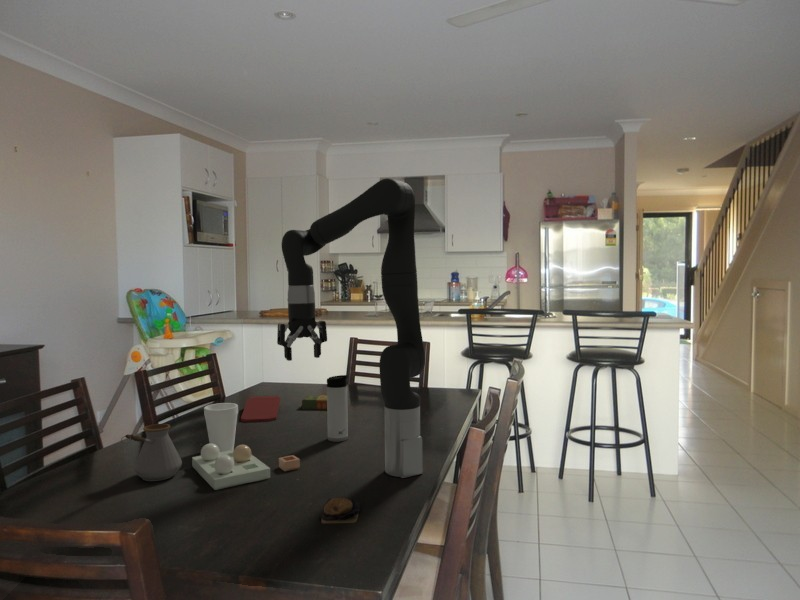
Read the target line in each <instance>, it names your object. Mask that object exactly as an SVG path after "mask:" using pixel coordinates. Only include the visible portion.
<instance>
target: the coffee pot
mask: <svg viewBox="0 0 800 600" xmlns="http://www.w3.org/2000/svg"><path fill="white" fill-rule="evenodd" d="M170 428H171V424H168V423H156V424H155V423H154V424H149V425H146V426H144V427H143V431H144V432H145V434H146V437H142V436H139V435H134V434H125V435H124V436H123V437H121V439H120V442H121V443H122V444H125V445H127V444H129V443H131V441H132V440H133V441H134V442H139V443H143V444H142V446H141V449H140V452H139V455H138V456H137V459H136V462H135V464H134V467H133V470H134V472H135V474H136V475H137V476H138V477H140V478H142V480H143V481H146V482H159V481H164V480H167V479H170V478H173V477H174V476H175V474H176V473H177V472H178V471H180V469H181V468H182V465H183V461H182V459H181V456H180V454H179V452H178V450H177V448H176V447H175V445H174V443H173V441H172V439H171V437H170V436H169V429H170ZM123 438H126V439H129V441H128V442H125V443H124V442H123Z"/></svg>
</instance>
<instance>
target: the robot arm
mask: <svg viewBox="0 0 800 600" xmlns="http://www.w3.org/2000/svg"><path fill="white" fill-rule="evenodd" d="M415 197H416V195H415V192H414V190H413V188H412V187H411V185H409V183H406V182H405V181H401V180H399V179H396V178H395V179H394V178H391V177H389V178H383V179H380V180H379V181H377V182H375V183H374V184H373V185H372V186H370V187H369V188H367V189H366V190H365V191H364V192H362V193H361V194H360V195H358V196H357V197H355V198H354V199H353V200H351V201H350V202H348V203H346V204H345V205H344V206H341V207H340V208H337V210H336V209H335V210H334V211H332V212H330V213H328V214H327V215H324V216H321V217H320V218H318V219H316V220H315V221H313V222H312V223H311V225H310V227H309V229H306V230H300V229H289V230H287V231H286V232H285V233H284V234H283V236H282V239H281V252H282V256H283V259H284V263H285V266H286V269H287V283H288V284H287V285H288V286H287V298H286V299H287V315H288V316H287V317H288V321H287V322H288V323H281V322H279V323H278V324H277V336H276V337H277V341H276V343H277V345H278V346H282V347H283V349H284V350H283V351H284V353H283V354H284V358H285V360H286V361H288V362H290V361H293V355H292V354H293V353H292V351H293V350H292V347H291V346H292V345H293V343H294V342H295V341H296V340H297V339H302V338H309V339H311V341H312V342H313V357H314V358H316V359H318V358H320V357H321V354H322V344H323V343H326V342H328V333H327V322H326V321H325V320H318V321H317V320H316V294H315V293H316V292H315V286H314V284H315V283H314V269H313V266H311V265H310V264H308V263H307V262H306V260H305V256H306V257H307V256H311V255H314V254H315V253H317V252H319V251H320V250H321V249H323V248H325V246H326V245H327V244H330V243H331V242H334V241H336V240H338V239H340V238H342V237H344V236H346V235H347V234H349V233H350V232H352V231H353V229H354V228H355V227H356V226H358V225H359V224H361V223H362V222H364V221H367V220H369V219H372V218H374V217H377V216H381V215H384V216H386V217H387V225H388V228H387V229H388V239H387V245H386V248H385V251H384V254H383V257H382V262H381V267H380V269H381V270H380V277H381V278H380V279H381V291H382V296H383V299H384V301H385V303H386V306H387V307H388V309H389V311H390V314H391V315H392V317H393V319H394V322H395V325H396V333H397V334H396V335H397V337H396V338H397V344H392V345H388V346H386V347H385V348H384V349H383V350H382V352H381V354H380V357H379V381H380V385H379V386H380V394H381V396H382V399H383V406H384V407H383V409H384V419H383V420H384V421H383V422H384V465H385V466H384V471H385V473H386V474H387V475H389V476H392V477H396V478H397V477H399V478H401V479H405V478H410V477H413V476H418V475H421V474H423V472H424V471H423V437H422V436H421V397H420V395H419V394H418V393H417V392H415V391H412V390H411V389H412V388H411V378H414V377H418V376H419V375H420V374H421V373H423V370H424V369H425V365H426V354H425V346H424V340H423V335H422V328H421V320H420V308H419V305H420V304H419V295H418V294H419V293H418V291H419V290H418V272H417V260H416V243H415V219H416V218H415V217H416V198H415ZM316 328H317V329H318V333H317V332H316V331H315V329H316ZM287 329H288V330H289V333H288V335H287V337H286V332H287ZM318 334H319V335H318Z"/></svg>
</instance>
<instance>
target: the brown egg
mask: <svg viewBox="0 0 800 600" xmlns="http://www.w3.org/2000/svg"><path fill="white" fill-rule="evenodd" d="M233 450H234V451H233V458H234V460H235V461H236V462H238V463H242V462H247V461H248V460H249V459H250V457H251V454H252V449H251V448H250V447H249V446H248V445H247V444H239V445H237V446H236V447H234V449H233Z"/></svg>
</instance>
